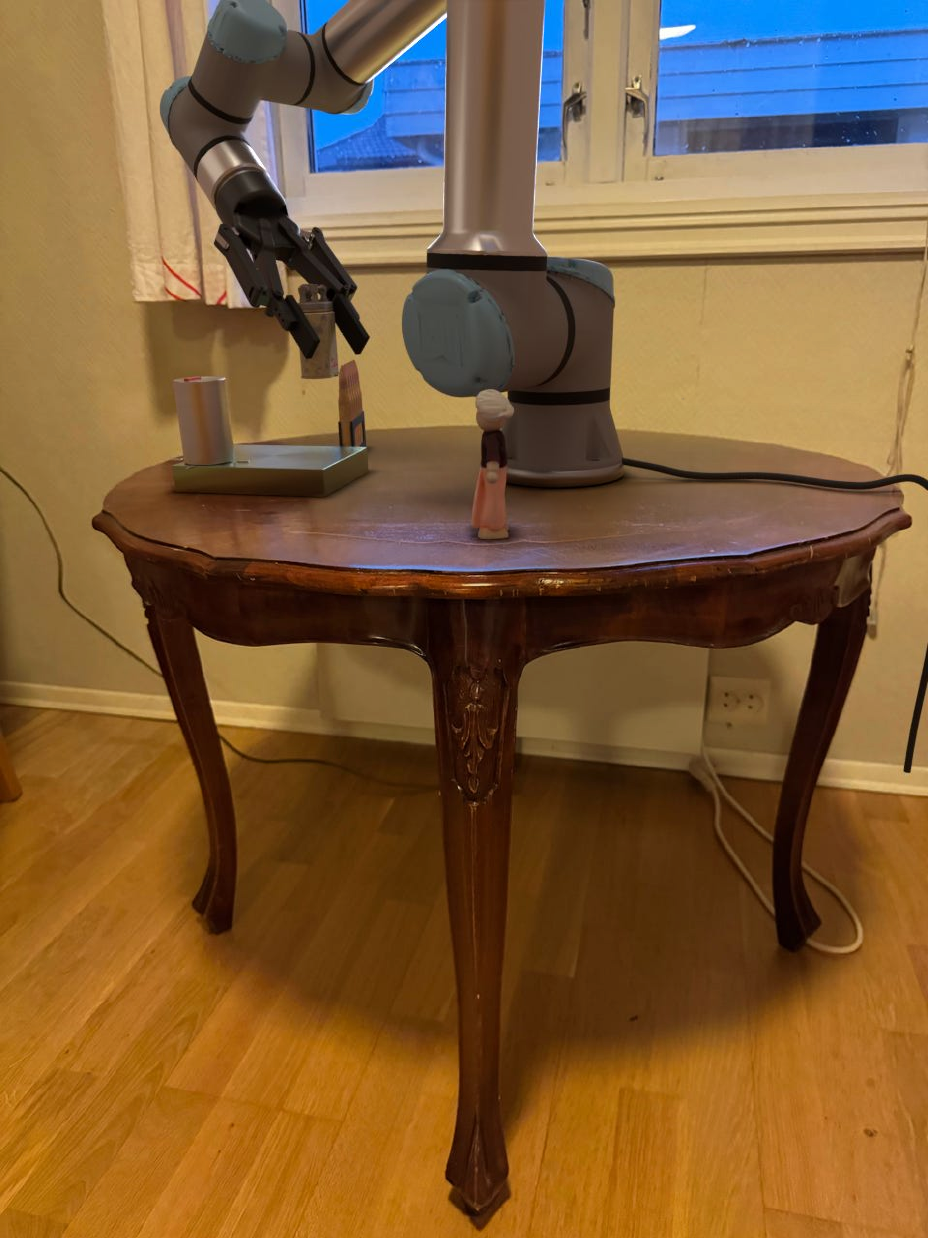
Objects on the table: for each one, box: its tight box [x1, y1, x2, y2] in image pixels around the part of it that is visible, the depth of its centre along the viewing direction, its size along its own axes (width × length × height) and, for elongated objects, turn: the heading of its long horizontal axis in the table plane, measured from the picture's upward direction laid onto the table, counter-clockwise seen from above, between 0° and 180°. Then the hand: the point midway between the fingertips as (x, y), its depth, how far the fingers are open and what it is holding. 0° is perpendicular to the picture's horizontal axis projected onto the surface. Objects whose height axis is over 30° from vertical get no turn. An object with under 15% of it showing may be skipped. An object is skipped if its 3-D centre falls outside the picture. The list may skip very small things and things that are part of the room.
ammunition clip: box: [337, 359, 368, 448], centre depth 116 cm, size 11×2×12 cm, turn 178°
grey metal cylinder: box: [172, 375, 235, 465], centre depth 98 cm, size 6×6×9 cm
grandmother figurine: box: [470, 389, 514, 540], centre depth 76 cm, size 8×4×13 cm, turn 5°
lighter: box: [297, 283, 340, 380], centre depth 98 cm, size 7×4×10 cm, turn 176°
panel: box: [169, 443, 370, 498], centre depth 102 cm, size 20×16×3 cm
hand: (338, 347), depth 96 cm, fingers closed on lighter, 6 cm apart
